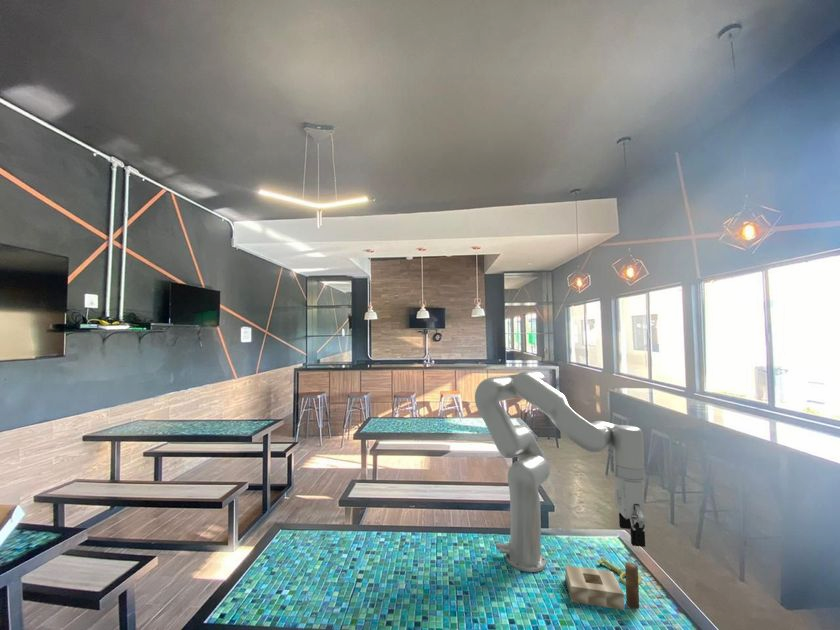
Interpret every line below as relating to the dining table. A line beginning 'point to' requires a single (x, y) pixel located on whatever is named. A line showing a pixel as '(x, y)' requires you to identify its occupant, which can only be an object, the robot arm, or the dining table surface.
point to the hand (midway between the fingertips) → (631, 536)
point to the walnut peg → (632, 585)
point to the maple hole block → (594, 587)
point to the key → (618, 571)
